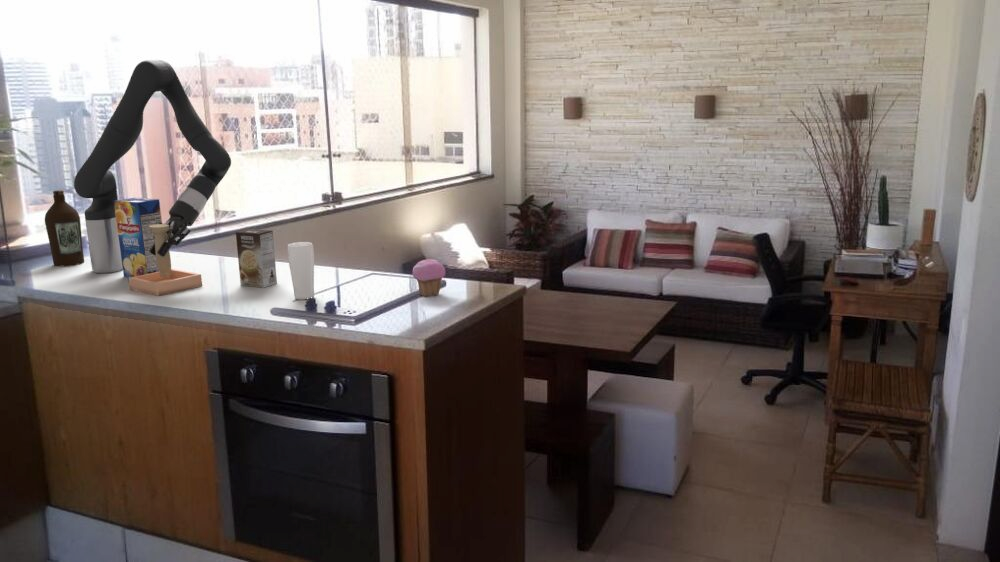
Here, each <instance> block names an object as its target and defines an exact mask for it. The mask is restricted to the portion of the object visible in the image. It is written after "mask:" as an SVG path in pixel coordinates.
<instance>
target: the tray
mask: <svg viewBox="0 0 1000 562" xmlns="http://www.w3.org/2000/svg"><path fill="white" fill-rule="evenodd" d="M170 271H171V276H168V277H160V274H159V273H160V272H155V273H150V274H145V275H140V276H135V277H131V278H130V277H128V283H129V289H130V291H134V292H135V291H136V292H140V293H142V294H143V293H144V294H149V295H153V296H157V297H160V296H164V295H170V294H173V293H174V294H175V293H177V292H182V291H185V290H191V289H194V288H199V287H203V280H202V274H201V273H195V272H190V271H186V270H179V269H175V268H171V270H170Z"/></svg>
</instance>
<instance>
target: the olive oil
mask: <svg viewBox="0 0 1000 562" xmlns="http://www.w3.org/2000/svg"><path fill="white" fill-rule="evenodd" d="M52 194H53V196H52V197H53V203H52V204H51V206H50V208H48V210H47V211H46V212H45V216H44V224H45V229H46V233H47V238H48V241H49V243H48V244H49V248H50V251H51V259H52V263H53V265H54V267H67V266H69V267H71V266H76V265H80V264H83V263H84V262H85V256H84V246H83V237H82V226H81V217H80V214H79V211H77V210H76V209H75V208H74V207H73V206H72V205H70V204H69V203H68V202H67V201H66V196H65V194H64V190H63V189H59V190H53V191H52Z"/></svg>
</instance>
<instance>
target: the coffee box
mask: <svg viewBox="0 0 1000 562" xmlns="http://www.w3.org/2000/svg"><path fill="white" fill-rule="evenodd" d="M235 239H236V249H237V259H238V260H237V261H238V270H239V282H240V286H245V287H254V288H255V287H256V288H262V289H263V288H264V289H265V288H267V287H270V286H272V285H276V284H277V283H278V278H277V269H276V256H275V255H276V254H275V243H274V242H275V241H274V231H273V230H272V229H259V228H246V229H243V230H238V231H236V232H235Z"/></svg>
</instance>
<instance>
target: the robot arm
mask: <svg viewBox="0 0 1000 562" xmlns="http://www.w3.org/2000/svg"><path fill="white" fill-rule="evenodd" d="M156 92H158V93H159V92H161V93H162V95H163V96H164V97H165V99H167V101H168V102H169V104H170V105H171V108H172V109H173V113H174V117H175V120H176V125H177V127H178V129H179V131H180V132H181V134H182V135H183V137H184V139H185V140H186V141H187V142H188V144H189V145H190V147H191V148H192V149H193V150H194V151H195V152H199V154H200V155H201V156H202V157H203V159H204V160H205V161H204V163H202V164H203V165H202V166H201V168H200V170H199V171H198V172H197V174H196V175H194V177H192V178H191V180H190V182H189V183H188V185H187V186H186V188H185V189H184V190H183V191H182V192H181V193H180V195H179V196H178V198H177V199H176V201H175V202H174V203H173V205H172V206H171V208H170V209H169V210H168V215H169V218H168V219H167V220H166V221H165V223H164V224H167V225H169V231H167V232H166V236H167V238H166V240H165V242H166V243H165V242H164V243H163V244H162V246H161V247H160V249H159V250H158V251H157V253H158V254H159V255H160V256H162V257H164V256H165V254H166V253H167V251H168V250H169V251H170V249H171V247H174V246H178V245H179V244H180V243H181V242H182V241H184V239H185V238H186V237H187V236H188V235H189V234H190V233H191V229H190V228H188V227H191V226H193V225H194V223H195V221H196V220H197V219H198V217H199V216H200V214H201V213H202V211H203V209H204V208H205V206H206V205H207V202H208V201H209V200H210V198H211V197H212V195H213V193H214V192H215V190H216V188H217V186H218V185H219V184H220V182H221V181H222V180H223V179H224V177H225V176H226V175H227V173H228V171H229V170H230V168H231V165H232V159H231V156H230V153H228V151H227V150H226V149H225V147H224V146H223V145H222V144H221V143H220V142H219V141H217V139H216V138H215V137H214V136H213V135H212V133H211V131H210V130H209V129H208V127H207V126H206V124H205V123H204V122H203V120H202V119H201V118H200V116H199V114H198V113H197V111H196V109H195V108H194V106H193V104H192V102H191V100H190V99H189V97H188V95H187V93H186V91H185V89H184V86H183V85H182V83H181V81H180V79H179V77H178V75H177V72H176V71H175V69H174V67H173V66H172V64H170V63H169V62H168V61H165V60H162V59H148V60H142V61H140V62H139V63H138V64H136V66H135V67H134V69H133V72H132V74H131V76H130V78H129V81H128V84H127V85H126V89H125V91H124V93H123V95H122V97H121V98H120V100H119V103H118V104H117V106H116V108H115V110H114V112H113V114H112V115H111V116H110V119H109V121H108V122H107V124H106V126H105V128H104V130H103V132H102V134H101V135H100V137H99V139H98V140H97V142H96V144H95V146H94V148H93V150H92V151H91V153H90V155H89V156H88V158H86V160H85V162H84V163H83V164H82V166H81V167H80V169H79V170H78V171H77V172H76V174H75V176H74V181H73V187H74V191H75V193H76V194H77V196H79V197H80V198H83V199H92V202H91V204H90V206H89V207H88V208H87V209H85V211H84V218H85V219H84V220H85V227H86V232H87V233H86V234H87V239H88V240H87V241H88V242H87V244H88V249H89V250H88V251H89V257H90V265H91V270H92V273H96V274H105V273H106V274H108V273H114V272H116V273H117V272H118V271H119V272H120V271H123V266H122V259H121V252H120V244H119V237H118V230H117V222H116V215H115V208H114V201H115V200H119V199H118V191H117V190H118V188H117V187H118V186H117V181H116V178H115V176H114V174H113V172H112V171H111V170H110V169H111V168H112V166H113V165H114V164H115V163H116V162H117V161H119V160H120V159H122V157H124V156H125V155H126V154H128V152H129V151H130V150H131V149H132V148H133V147H134V145H135V143H136V141H137V140H138V139H139V136H140V135H141V132H142V131H143V126H144V110H145V108H146V106H147V104H148V102H149V101H150V100H151V98H152V96H154V94H155V93H156ZM159 224H163V222H162V223H161V222H160V223H159ZM153 238H154V236H153ZM154 239H155V238H154ZM149 252H150V253H151V254H153V255H156V252H155V243H154V244H153V246H152V247H151V249H150V250H149Z"/></svg>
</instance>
